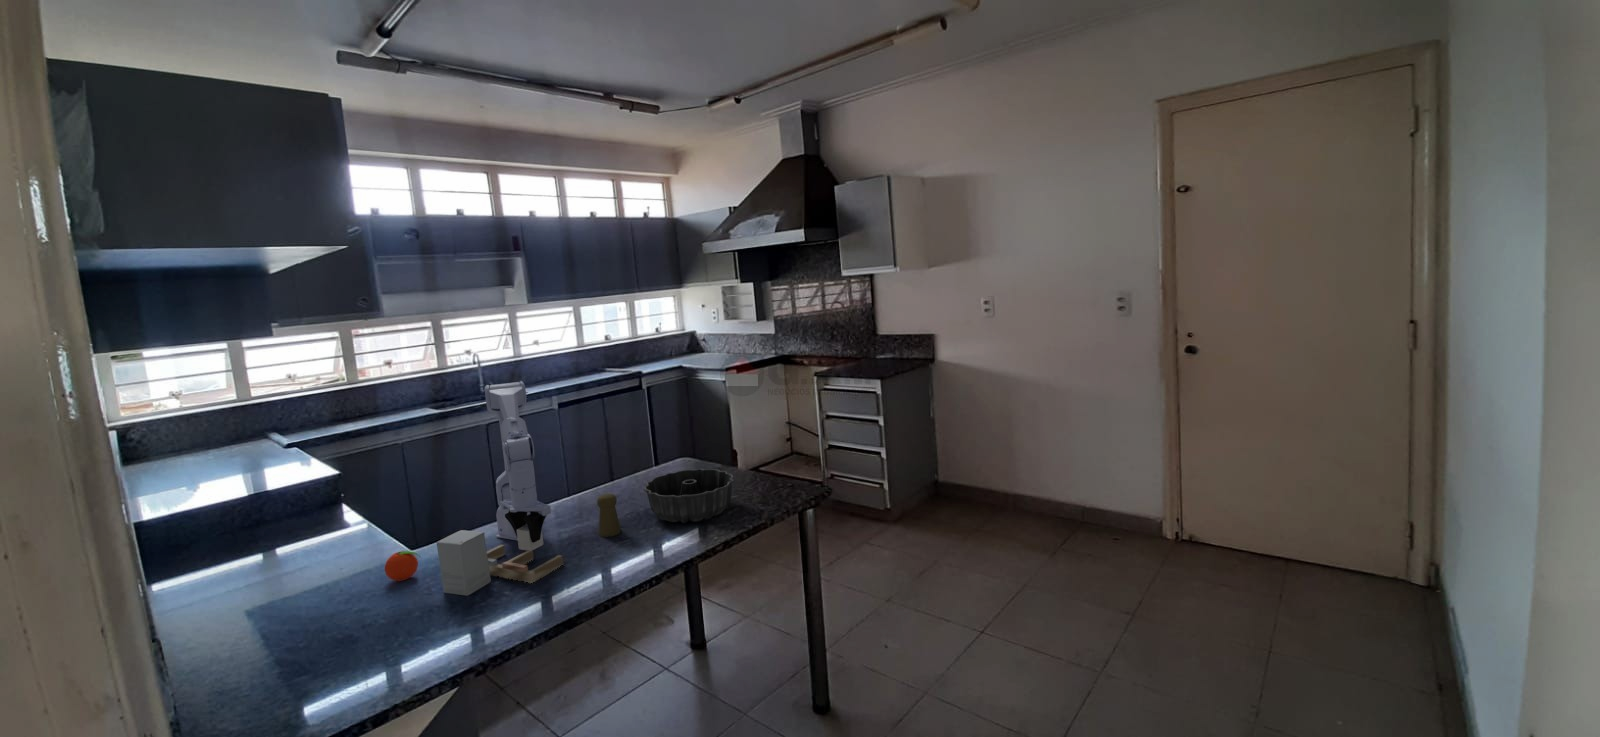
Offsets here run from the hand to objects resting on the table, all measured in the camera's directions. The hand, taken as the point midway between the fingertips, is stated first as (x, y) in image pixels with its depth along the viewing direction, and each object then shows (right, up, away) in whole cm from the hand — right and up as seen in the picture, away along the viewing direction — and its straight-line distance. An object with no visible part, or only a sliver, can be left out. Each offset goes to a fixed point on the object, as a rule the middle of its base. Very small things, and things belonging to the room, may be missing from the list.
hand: (529, 539), depth 158 cm
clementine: (-30, -10, 0) cm, 31 cm away
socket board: (-4, -8, +3) cm, 9 cm away
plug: (0, -2, +1) cm, 2 cm away
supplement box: (-12, -10, -6) cm, 17 cm away
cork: (+13, -4, +23) cm, 26 cm away
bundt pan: (+34, -2, +35) cm, 49 cm away
